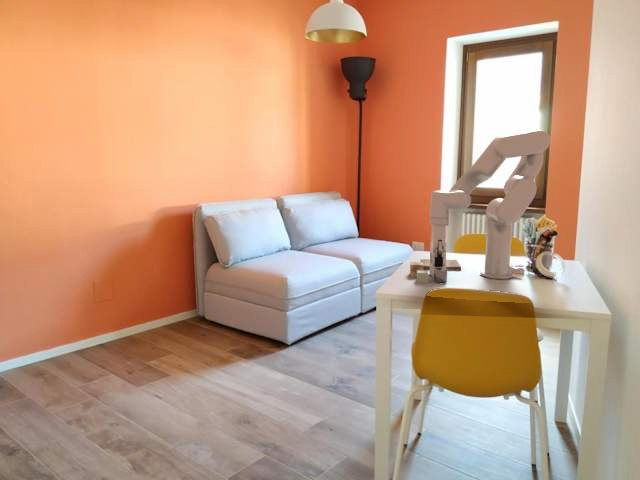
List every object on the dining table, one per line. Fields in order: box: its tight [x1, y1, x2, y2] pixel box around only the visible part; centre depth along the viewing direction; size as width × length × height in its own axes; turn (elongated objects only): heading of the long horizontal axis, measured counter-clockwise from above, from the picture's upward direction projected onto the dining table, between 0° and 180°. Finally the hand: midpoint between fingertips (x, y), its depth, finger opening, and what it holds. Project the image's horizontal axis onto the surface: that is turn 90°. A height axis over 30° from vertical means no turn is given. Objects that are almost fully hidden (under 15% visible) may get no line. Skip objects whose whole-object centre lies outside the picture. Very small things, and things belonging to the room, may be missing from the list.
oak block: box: [409, 261, 424, 278], centre depth 214 cm, size 5×5×5 cm
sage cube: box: [416, 270, 429, 284], centre depth 204 cm, size 4×4×4 cm
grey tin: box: [433, 268, 448, 284], centre depth 203 cm, size 5×5×5 cm
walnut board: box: [420, 258, 462, 271], centre depth 230 cm, size 16×14×2 cm
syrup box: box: [429, 240, 447, 278], centre depth 212 cm, size 6×6×14 cm
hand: (437, 264), depth 213 cm, fingers closed on syrup box, 6 cm apart
